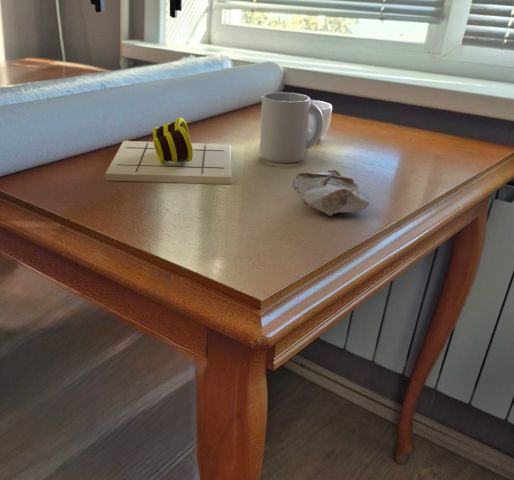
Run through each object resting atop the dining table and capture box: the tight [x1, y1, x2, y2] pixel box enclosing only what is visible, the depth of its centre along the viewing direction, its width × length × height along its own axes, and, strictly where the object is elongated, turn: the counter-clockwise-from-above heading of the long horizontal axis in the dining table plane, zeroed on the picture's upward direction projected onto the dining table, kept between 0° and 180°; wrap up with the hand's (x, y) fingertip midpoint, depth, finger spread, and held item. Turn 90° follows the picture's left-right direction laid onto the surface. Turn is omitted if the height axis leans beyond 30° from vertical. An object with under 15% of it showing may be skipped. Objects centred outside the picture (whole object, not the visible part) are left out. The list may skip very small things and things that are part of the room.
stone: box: [291, 169, 370, 217], centre depth 78 cm, size 12×9×3 cm
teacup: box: [307, 99, 333, 138], centre depth 105 cm, size 10×8×5 cm
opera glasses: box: [152, 117, 193, 163], centre depth 88 cm, size 10×5×5 cm, turn 9°
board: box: [104, 140, 232, 185], centre depth 90 cm, size 17×17×1 cm
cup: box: [259, 91, 323, 164], centre depth 94 cm, size 7×10×9 cm
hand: (137, 14), depth 80 cm, fingers open, 9 cm apart
